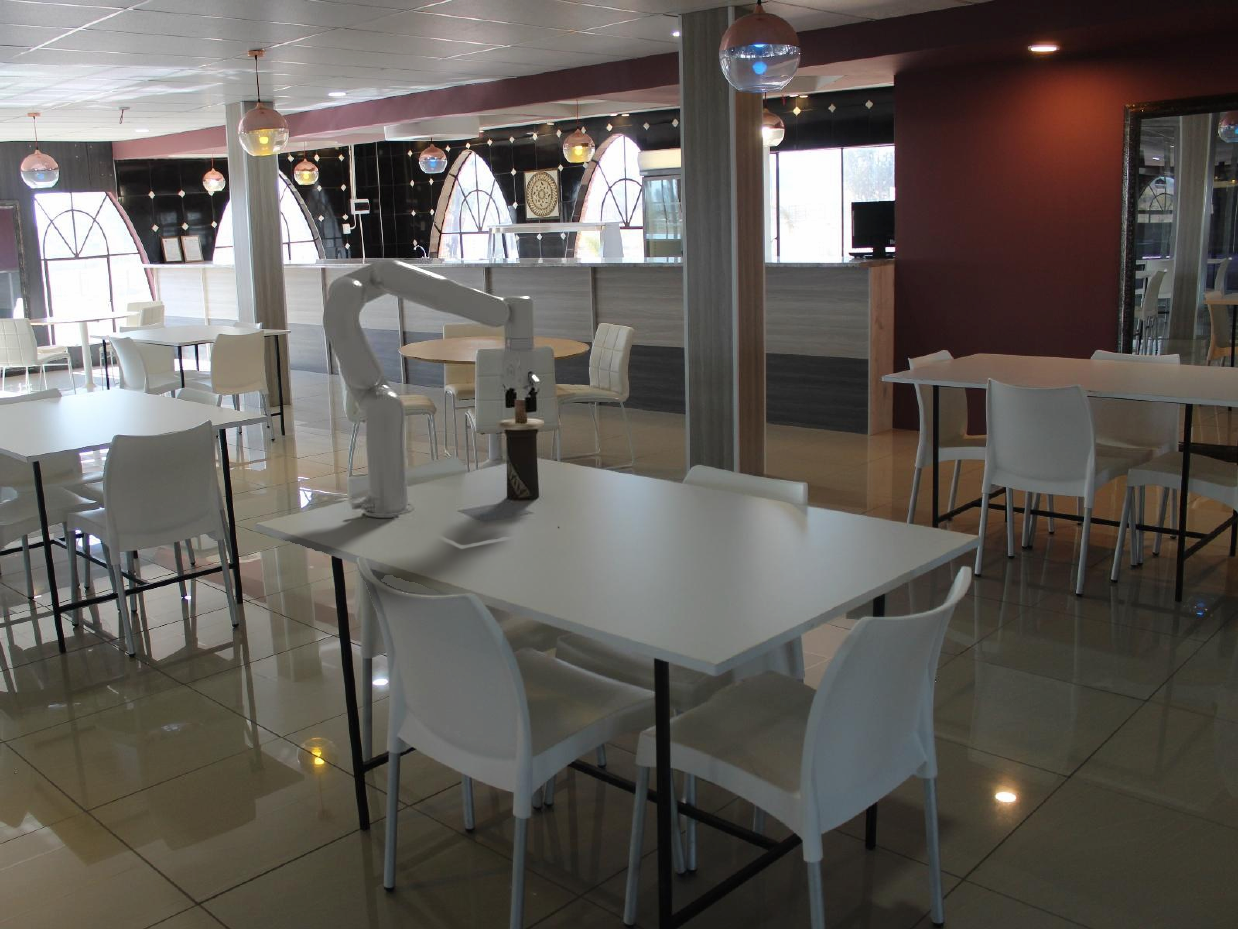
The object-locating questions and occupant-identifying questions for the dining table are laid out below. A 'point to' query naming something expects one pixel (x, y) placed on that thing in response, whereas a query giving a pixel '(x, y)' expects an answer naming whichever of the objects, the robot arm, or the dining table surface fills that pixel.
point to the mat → (495, 512)
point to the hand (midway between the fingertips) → (521, 409)
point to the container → (522, 465)
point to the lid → (520, 419)
